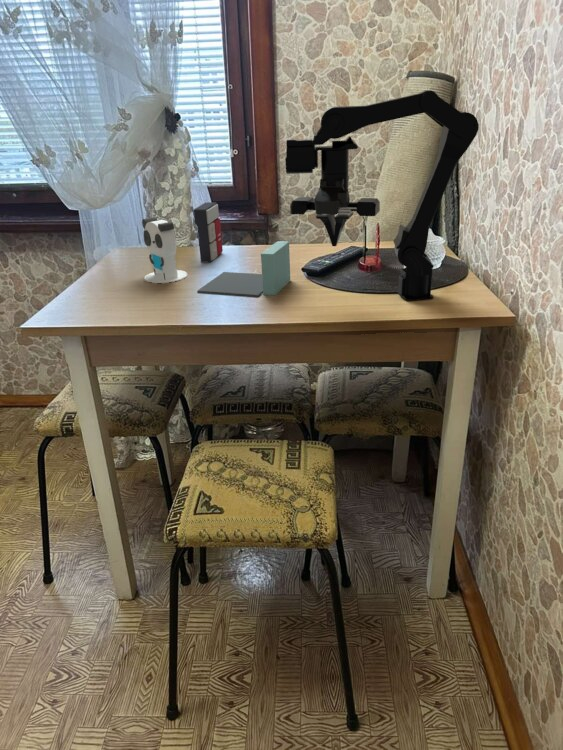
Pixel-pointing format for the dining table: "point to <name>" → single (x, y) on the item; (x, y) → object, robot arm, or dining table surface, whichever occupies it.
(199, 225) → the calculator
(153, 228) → the panda figurine
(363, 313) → the dining table surface
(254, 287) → the mat
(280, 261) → the board
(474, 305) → the dining table surface
